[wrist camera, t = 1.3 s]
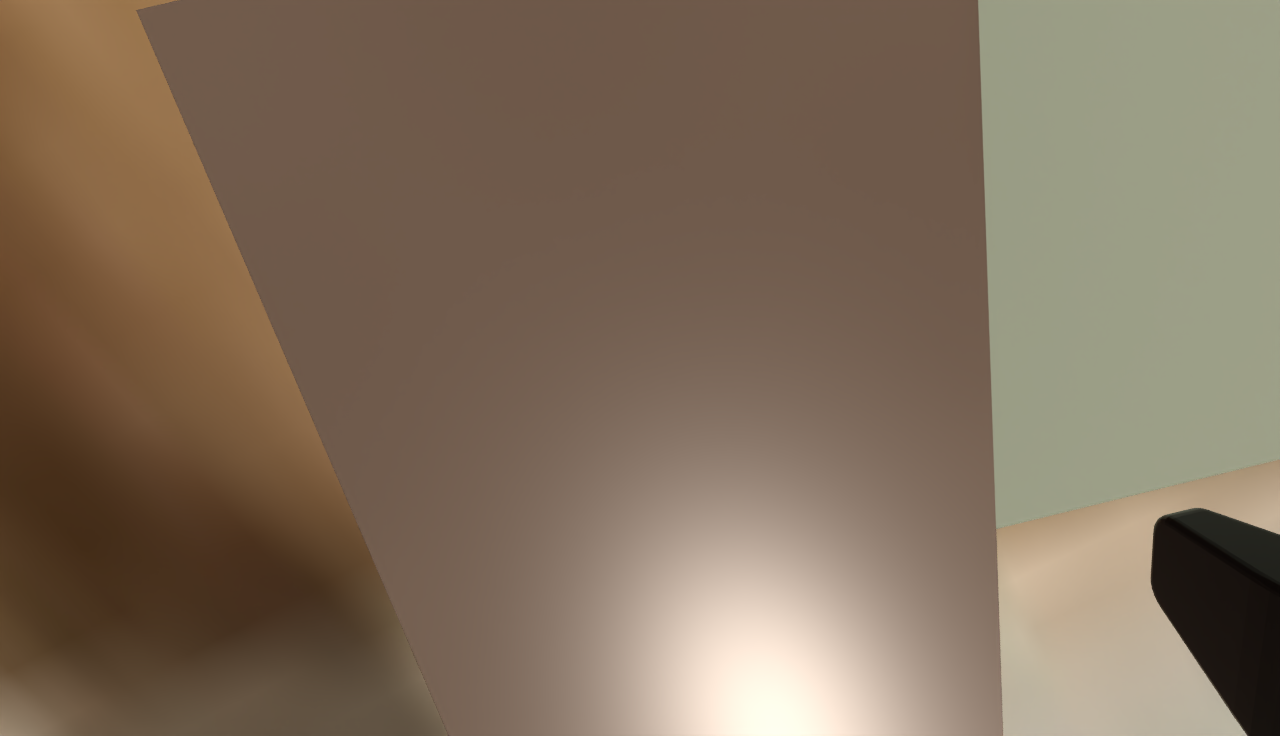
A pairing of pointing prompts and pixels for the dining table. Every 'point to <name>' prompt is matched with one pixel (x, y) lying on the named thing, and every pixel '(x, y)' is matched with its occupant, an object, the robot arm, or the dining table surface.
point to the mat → (1129, 245)
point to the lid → (634, 342)
